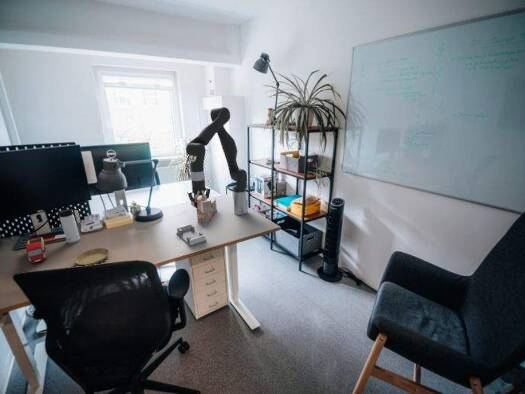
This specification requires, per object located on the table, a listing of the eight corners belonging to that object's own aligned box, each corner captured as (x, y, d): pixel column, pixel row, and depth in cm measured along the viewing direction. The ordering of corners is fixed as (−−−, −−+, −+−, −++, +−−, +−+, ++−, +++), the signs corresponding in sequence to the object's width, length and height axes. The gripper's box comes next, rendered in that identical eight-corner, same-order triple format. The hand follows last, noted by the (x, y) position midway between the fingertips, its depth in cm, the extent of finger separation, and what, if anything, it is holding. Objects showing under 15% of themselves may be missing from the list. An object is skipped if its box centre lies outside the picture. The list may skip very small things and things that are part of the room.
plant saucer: (94, 270, 118) (93, 265, 118) (68, 267, 121) (66, 262, 120) (116, 253, 132) (115, 249, 131) (92, 251, 135) (91, 246, 134)
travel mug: (70, 245, 140) (60, 212, 134) (65, 242, 144) (55, 210, 137) (82, 240, 145) (73, 209, 139) (77, 237, 149) (68, 206, 142)
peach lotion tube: (198, 203, 154) (197, 194, 152) (210, 210, 142) (209, 200, 140) (191, 204, 151) (190, 195, 149) (203, 212, 139) (202, 202, 137)
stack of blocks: (209, 210, 188) (207, 194, 184) (216, 210, 187) (215, 195, 183) (197, 221, 168) (195, 205, 164) (206, 222, 167) (204, 205, 163)
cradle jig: (191, 228, 158) (191, 223, 157) (206, 241, 143) (206, 235, 142) (176, 233, 152) (175, 227, 151) (190, 246, 137) (189, 240, 136)
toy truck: (30, 267, 121) (23, 249, 118) (31, 250, 135) (25, 234, 132) (48, 261, 125) (42, 244, 122) (47, 246, 140) (41, 230, 136)
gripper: (206, 175, 148) (208, 202, 153) (183, 179, 139) (186, 207, 145) (212, 178, 142) (214, 205, 148) (188, 182, 134) (191, 211, 139)
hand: (200, 206), depth 146 cm, fingers closed on peach lotion tube, 4 cm apart
